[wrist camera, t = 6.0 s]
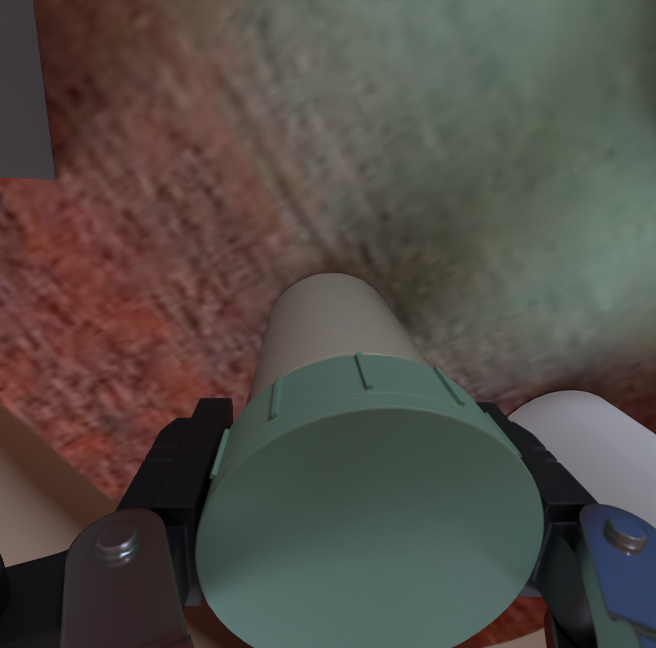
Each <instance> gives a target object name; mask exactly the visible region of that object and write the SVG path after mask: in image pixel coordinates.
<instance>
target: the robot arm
mask: <svg viewBox="0 0 656 648" xmlns="http://www.w3.org/2000/svg"><path fill="white" fill-rule="evenodd" d="M475 403H476V404H477V405H478V406H479V407H480V409H481V410H482V411H483V412H484V413H486V412H487V413H488V414H489V415H490V417H491V418H492V419H493V420H494V421H495V423H496V424H497V425H498V426H499V428H500V429H501V430H502V431H503V432H504V434H505V435H506V436H507V437H508V438H509V440H510V441H511V442H512V443H513V445H514V446H515V447H516V448H517V449H518V451H519V452H520V453H521V455H522V457H521V460H522V461H523V463H524V464H525V466H526V467H527V469H528V470H529V472H530V473H531V475H532V477H533V479H534V481H535V484H536V486H537V488H538V491H539V494H540V498H541V503H542V507H543V514H544V533H543V541H542V547H541V550H540V553H539V557H538V560H537V563H536V565H535V567H534V569H533V572H532V574H531V576H530V578H529V579H528V581H527V583H526V584H525V586H524V587H523V589H522V590H521V592H520V593H519V594H518V596H519V597H535V596H542V597H543V599H544V600H545V602H546V604H547V605H548V607H547V610H546V613H545V616H544V630H545V637H546V645H547V648H656V528H654V527H653V526H652V525H651V524H649V523H648V522H646V521H645V520H643V519H641V518H640V517H638V516H636V515H634V514H632V513H630V512H628V511H626V510H623V509H621V508H617V507H614V506H610V505H606V504H599V503H598V502H597V501H596V500H595V499H594V498H593V496H592V495H591V494H590V493H589V492H588V491H587V490H586V489H585V488H584V487H583V486H582V485H581V484H580V483H579V482H578V481H577V480H576V479H575V478H574V476H573V475H572V474H571V473H570V472H569V471H568V470H567V469H566V468H565V467H564V466H563V465H562V464H561V463H560V462H557V459H556V458H555V456H554V455H553V454H552V453H551V452H550V451H549V450H546V447H545V446H544V445H543V444H542V443H541V442H540V441H539V440H538V439H537V438H536V436H535V435H534V434H533V433H531V432H530V431H528V430H526V429H525V428H523V427H522V426H520V425H518V424H517V423H515V422H511V421H510V420H509V419H508V418H507V417H506V416H505V415H504V414H503V413H502V411H501V410H500V409H499V408H498V407H497V406H496V405H495V404H494V403H491V402H475ZM232 425H233V404H232V399H231V398H201V399H200V400H199V402H198V404H197V407H196V409H195V411H194V413H193V415H192V417H191V418H176V419H175V420H174V421H172V422H171V423H170V424H169V425H167V426H166V427H165V428H163V429H162V430H161V431H160V433H159V435H158V437H157V438H156V440H155V442H154V444H153V445H152V449H150V451H149V452H148V454H147V456H146V458H145V462H143V463H142V465H141V467H140V468H139V470H138V472H137V474H136V475H135V477H134V479H133V481H132V482H131V484H130V486H129V488H128V490H127V491H126V493H125V495H124V497H123V498H122V500H121V502H120V504H119V505H118V507H117V509H116V511H115V512H113V513H110V514H108V515H106V516H104V517H102V518H100V519H98V520H96V521H95V522H93V523H92V524H90V525H89V526H88V527H86V528H85V529H84V530H83V531H82V532H81V533H80V534H79V535H78V536H77V537H76V539H75V540H74V541H73V543H72V544H71V546H70V548H69V549H68V550H66V551H63V552H60V553H57V554H54V555H50V556H47V557H43V558H39V559H36V560H32V561H28V562H25V563H21V564H17V565H13V566H10V567H6V568H5V566H4V562H3V559H2V557H1V555H0V648H194V646H193V642H192V639H191V636H190V635H188V634H187V630H186V626H185V621H184V616H183V611H184V608H185V606H200V605H202V601H203V596H204V594H203V592H202V590H201V587H200V583H199V580H198V576H197V573H196V565H195V555H194V552H195V539H196V533H197V529H198V525H199V521H200V517H201V514H202V510H203V507H204V504H205V501H206V497H207V494H208V491H209V487H210V484H211V481H212V479H210V478H209V477H210V474H211V471H212V468H213V464H214V461H215V458H216V455H217V452H218V448H219V445H220V442H221V439H222V436H223V433H224V431H225V429H228V430H229V429H230V428H231V426H232Z"/></svg>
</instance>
